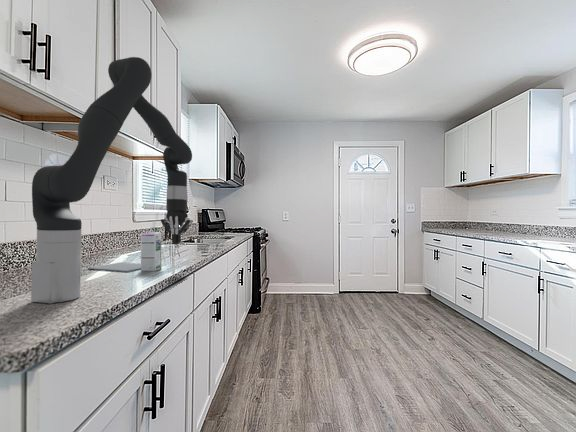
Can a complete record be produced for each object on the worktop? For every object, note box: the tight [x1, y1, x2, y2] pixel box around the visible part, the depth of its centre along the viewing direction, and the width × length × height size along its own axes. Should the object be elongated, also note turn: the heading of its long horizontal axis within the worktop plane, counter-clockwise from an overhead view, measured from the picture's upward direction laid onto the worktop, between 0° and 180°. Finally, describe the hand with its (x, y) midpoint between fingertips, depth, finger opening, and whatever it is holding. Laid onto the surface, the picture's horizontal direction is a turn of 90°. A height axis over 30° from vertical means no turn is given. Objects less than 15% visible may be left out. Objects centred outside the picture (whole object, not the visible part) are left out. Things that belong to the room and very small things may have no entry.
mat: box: [87, 262, 141, 273], centre depth 132 cm, size 16×18×1 cm
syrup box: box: [140, 231, 162, 272], centre depth 129 cm, size 6×6×14 cm
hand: (176, 244), depth 126 cm, fingers closed
